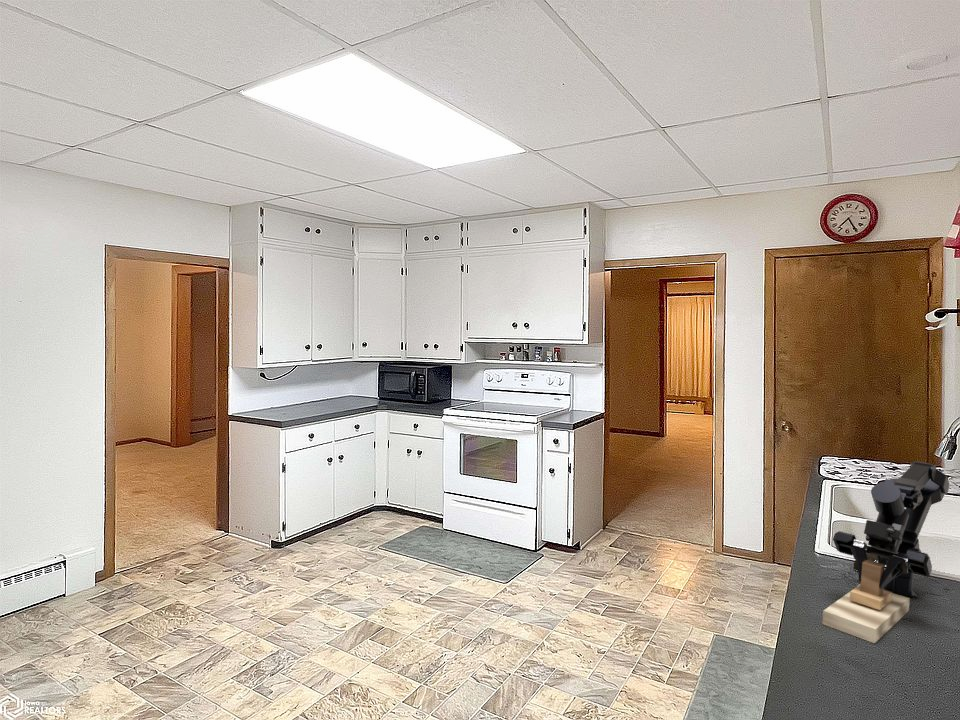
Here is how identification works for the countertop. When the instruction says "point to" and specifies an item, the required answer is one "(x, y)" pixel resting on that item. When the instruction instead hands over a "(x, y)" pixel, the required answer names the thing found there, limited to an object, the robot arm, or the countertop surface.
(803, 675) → the countertop surface
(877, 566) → the block
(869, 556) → the hand tool
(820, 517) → the countertop surface
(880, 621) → the board
